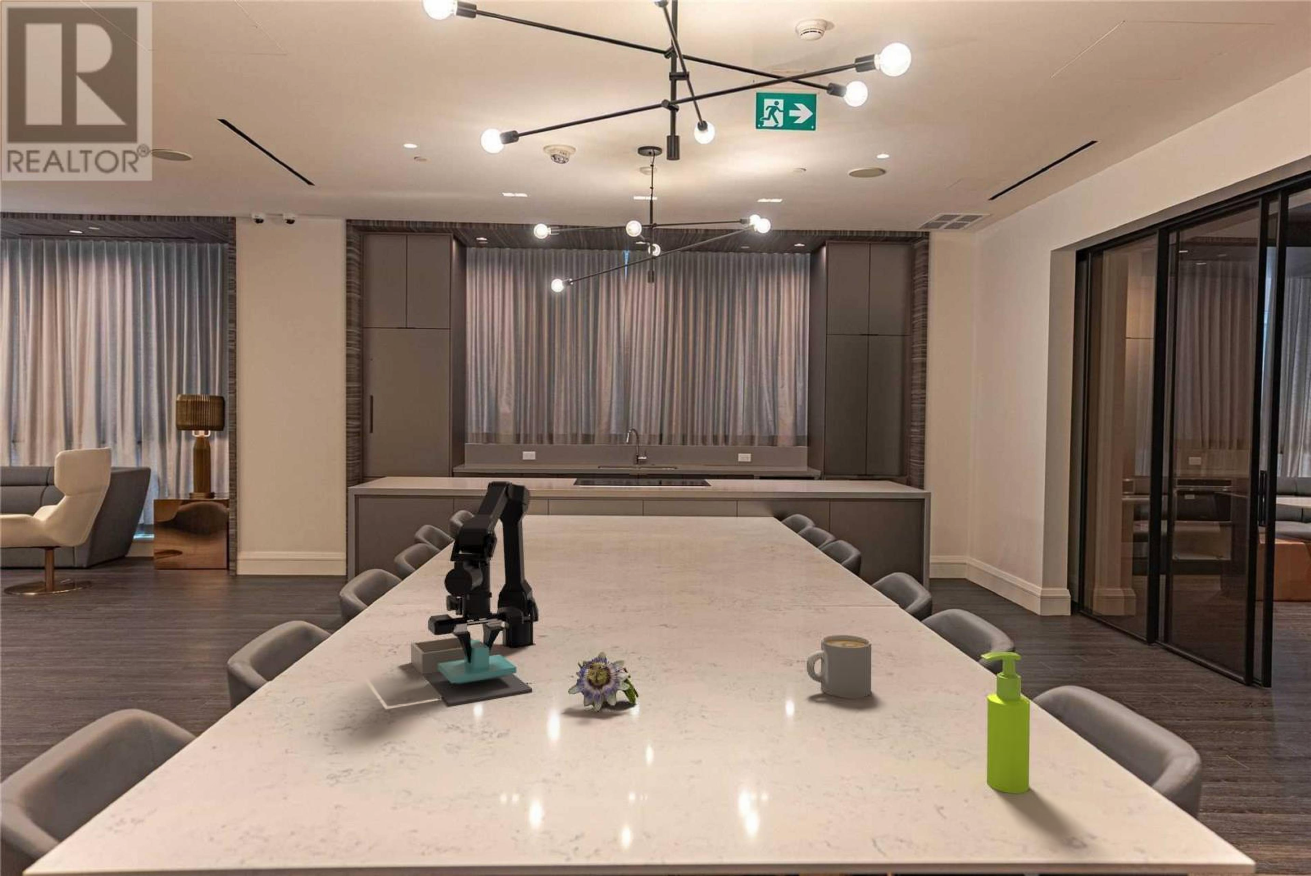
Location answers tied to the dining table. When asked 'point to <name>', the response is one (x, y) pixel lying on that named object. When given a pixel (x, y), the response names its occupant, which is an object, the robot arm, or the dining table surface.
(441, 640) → the storage box
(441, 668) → the lid
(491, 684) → the rubber mat
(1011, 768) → the soap dispenser
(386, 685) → the dining table surface
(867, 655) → the coffee mug
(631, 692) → the passion flower
